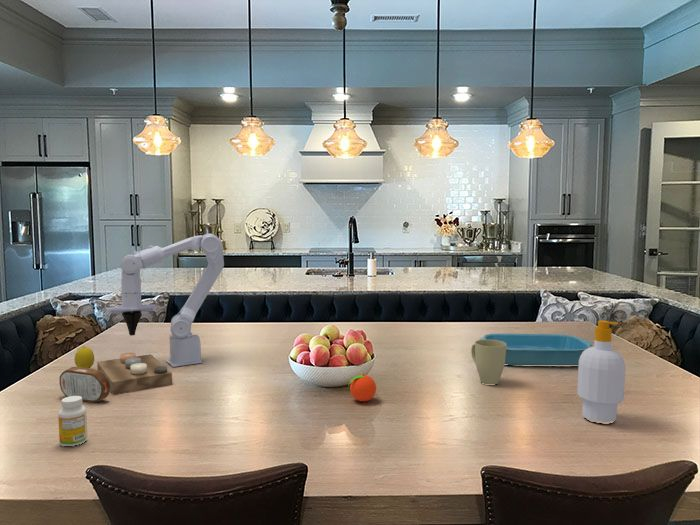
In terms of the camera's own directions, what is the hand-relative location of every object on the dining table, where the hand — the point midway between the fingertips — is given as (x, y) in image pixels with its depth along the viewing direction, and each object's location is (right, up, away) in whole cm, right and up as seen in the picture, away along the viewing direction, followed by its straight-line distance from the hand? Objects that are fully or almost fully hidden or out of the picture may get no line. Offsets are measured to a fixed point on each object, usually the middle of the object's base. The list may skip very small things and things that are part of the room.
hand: (132, 334), depth 175 cm
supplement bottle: (+10, -16, -56) cm, 59 cm away
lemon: (-13, -11, -4) cm, 18 cm away
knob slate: (+5, -11, -11) cm, 17 cm away
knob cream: (+9, -12, -17) cm, 23 cm away
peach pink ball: (+1, -10, -6) cm, 12 cm away
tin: (-1, -14, -30) cm, 33 cm away
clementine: (+73, -14, -30) cm, 80 cm away
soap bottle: (+130, -15, -42) cm, 137 cm away
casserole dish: (+132, -10, +11) cm, 133 cm away
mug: (+110, -12, -14) cm, 111 cm away
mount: (+5, -12, -11) cm, 17 cm away
